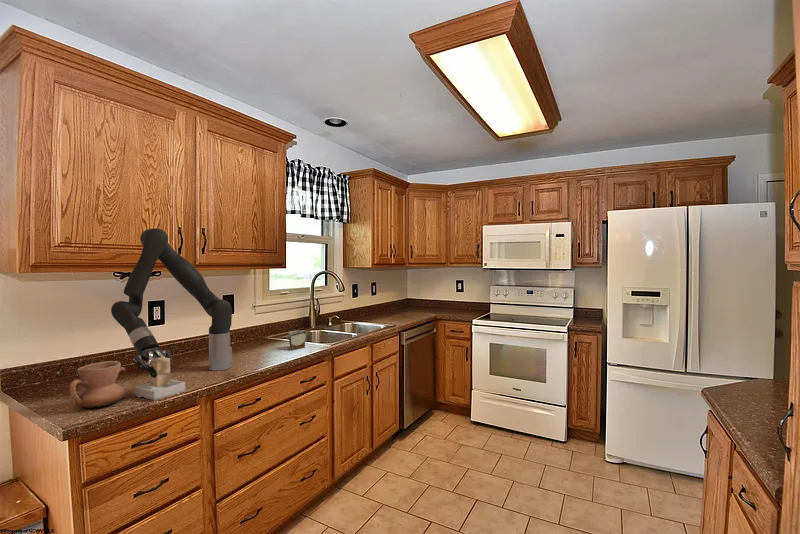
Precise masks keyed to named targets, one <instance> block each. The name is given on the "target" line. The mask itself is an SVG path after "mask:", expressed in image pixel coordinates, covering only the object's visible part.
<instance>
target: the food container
mask: <svg viewBox="0 0 800 534" xmlns="http://www.w3.org/2000/svg"><path fill="white" fill-rule="evenodd" d="M307 334H308V333H307V330H293V331H289V332H288V333H287V338H288V341H289V350H290V351H293V352H294V351H298V350H302V349H305V348H306V340H307V339H306V337H307Z"/></svg>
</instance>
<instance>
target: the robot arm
mask: <svg viewBox="0 0 800 534" xmlns="http://www.w3.org/2000/svg"><path fill="white" fill-rule="evenodd" d="M139 240H140V243H141V246H142V250H141V253H140V257H139V258H138V261H137V263H136V264H135V266H134V268H133V269H132V271H131V272H130V274H129V277H128V278H127V281H126V283H125V286H124V287H123V294H124V295H125V296H128V301H125V300H119V301H116V302H114V303H113V304H112V305H111V307H110V308H111V309H110V312H111V315H112V318H113V319H114V320H115V321H116V322H117V323H118V324H119V325H120V326H121V327H122V328H124V330H125V332H126V334H127V335H128V337H129V340H130V342H131V344H132V346H133V348H134V350H135V351H136V353H137V355H135V356H134V357H133V359H132V360H131V361H132V362H133V363H134V364H135V366H137V368H138V369H139V370H140V371H142V372H144V371H146V372H148V374H150V375H151V377H153V378H156V376H157V372H156V371H155V369H154V367H152V366H153V365H152V363H151V360H153V359H155V358H163V357H165V358H170V364H171V363H172V362H173V356H172V354H171V349H169V348H167V349H166V350H162V349H161V348H160V345H159V343H158V341H157V339H156V337H155V336H154V334H153V332H152V331H151V329H149V327H148V326H147V323H146V322H145V321H144V319H142V318H141V317H139V316H140V315H141V314H142V310H143V302H144V301H143V300H144V293H145V291H146V288H147V286H148V282H149V281H150V279H151V276H152V272H153V270H154V268H155V266H156V263H157V262H158V260H159V262H161V263H162V265H163V266H164V267H165V269H166V270H167V271H168V272H169V273H170V274H171V276H172V277H173V278H174V279H175V280H176V281H177V282H178V283H179V284H180V285H181V286H182V287H183V289H184V290H186V291H187V292H188V293H189V294H190V295H191V296H192V297H193V298H195V299H196V301H197V302H198V303H199V304H200V306H201V307H202V308H203V310H204V311H205V312H206V314H207V315H208V316H209V317H211V325H210V326H209V327H208V370H210V371H212V372H213V371H214V372H215V371H216V372H217V371H224V370H229V369H230V368H231V367H233V348H232V346H231V327H232V319H233V318H232V317H233V316H232V315H233V310H232V305H231V303H230V301H228V300H225V299H221V298H219V297H218V296H216V295H215V294H214V292H213V291H212V290H210V288H209V287H208V285H207V283H206V281H205V279H204V277H203V276H202V274H201V273H200V271H198V269H197V268H196V267H195V266H194V265H193V264H192V263H191V262H190V261H188V260H187V259H186V258H185V257H184V256H182V255H181V254H180V253H178V252H176V251H175V249H174V248H173V247H172V246H171V245H170V243H169V236H168V234H167V232H166V231H165V230H163V229H161V228H148V229H146V230H143V231H142V232H141V234H140V237H139ZM172 371H173V368H172V367H171V366H170V374H171V373H172Z"/></svg>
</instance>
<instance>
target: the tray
mask: <svg viewBox="0 0 800 534" xmlns="http://www.w3.org/2000/svg"><path fill="white" fill-rule="evenodd" d="M183 392H184V393H185V392H186V382H185V381H181V380H176V379H171V378H170V384H168V385H164V386H161V387H153V386H149V382H147V383H144V384H140V385H137V386H134V396H135V395H136V396H140V397H144V398H147V399H146V400H148V399H151V400H150V401H153V400H154V401H153V402H156V401H158V399H159V400H162V399H165V398H168V397H169V398H170V397H171V396H175V395H177V394H180V393H183ZM136 396H135V397H136ZM140 397H139V398H140ZM144 398H143V399H144ZM155 400H156V401H155Z"/></svg>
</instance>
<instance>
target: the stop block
mask: <svg viewBox="0 0 800 534" xmlns="http://www.w3.org/2000/svg"><path fill="white" fill-rule="evenodd" d="M151 363H152V365H153V366H152V367H154V369H155V371H156V372H157V376H156V378H153V377H151V375H150V374H149V373H148V374H149V379H148V380H149V382H148V383H149V386H153V387H161V386H164V385H168V384H170V379H171V373H170V367H171V363H170V358H165V356H164V357H163V358H155V359H153V360H151Z"/></svg>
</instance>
